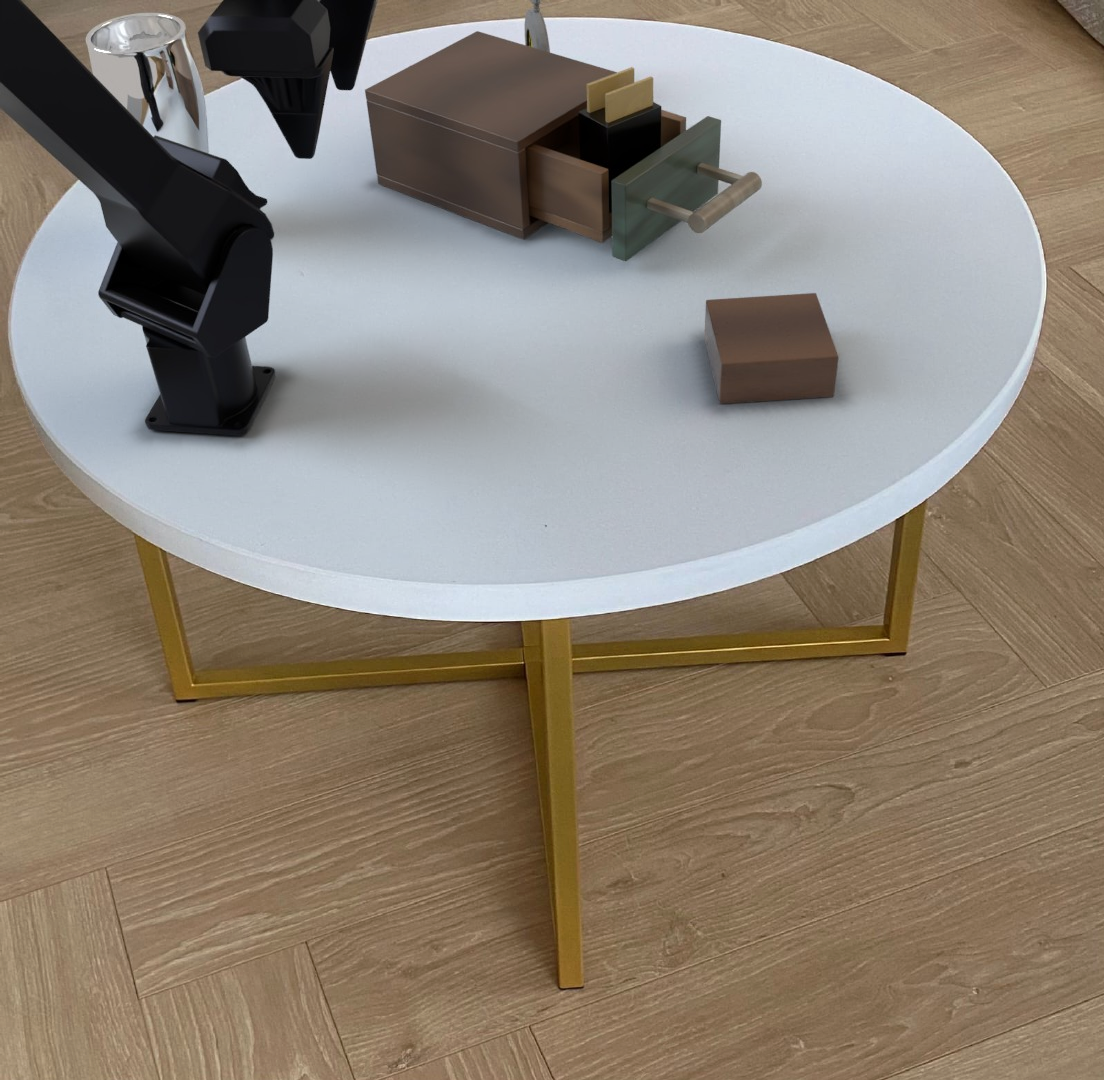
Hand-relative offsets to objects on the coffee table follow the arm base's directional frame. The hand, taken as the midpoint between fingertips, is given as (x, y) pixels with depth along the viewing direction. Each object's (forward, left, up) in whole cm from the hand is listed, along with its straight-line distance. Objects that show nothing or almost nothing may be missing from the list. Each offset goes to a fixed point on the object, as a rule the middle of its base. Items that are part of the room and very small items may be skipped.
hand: (326, 121), depth 84 cm
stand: (-5, -28, -13) cm, 31 cm away
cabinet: (+18, -7, -13) cm, 23 cm away
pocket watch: (+32, -10, -13) cm, 36 cm away
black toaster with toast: (+12, -17, -11) cm, 24 cm away
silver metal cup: (+8, +15, -13) cm, 22 cm away
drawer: (+12, -17, -12) cm, 24 cm away
